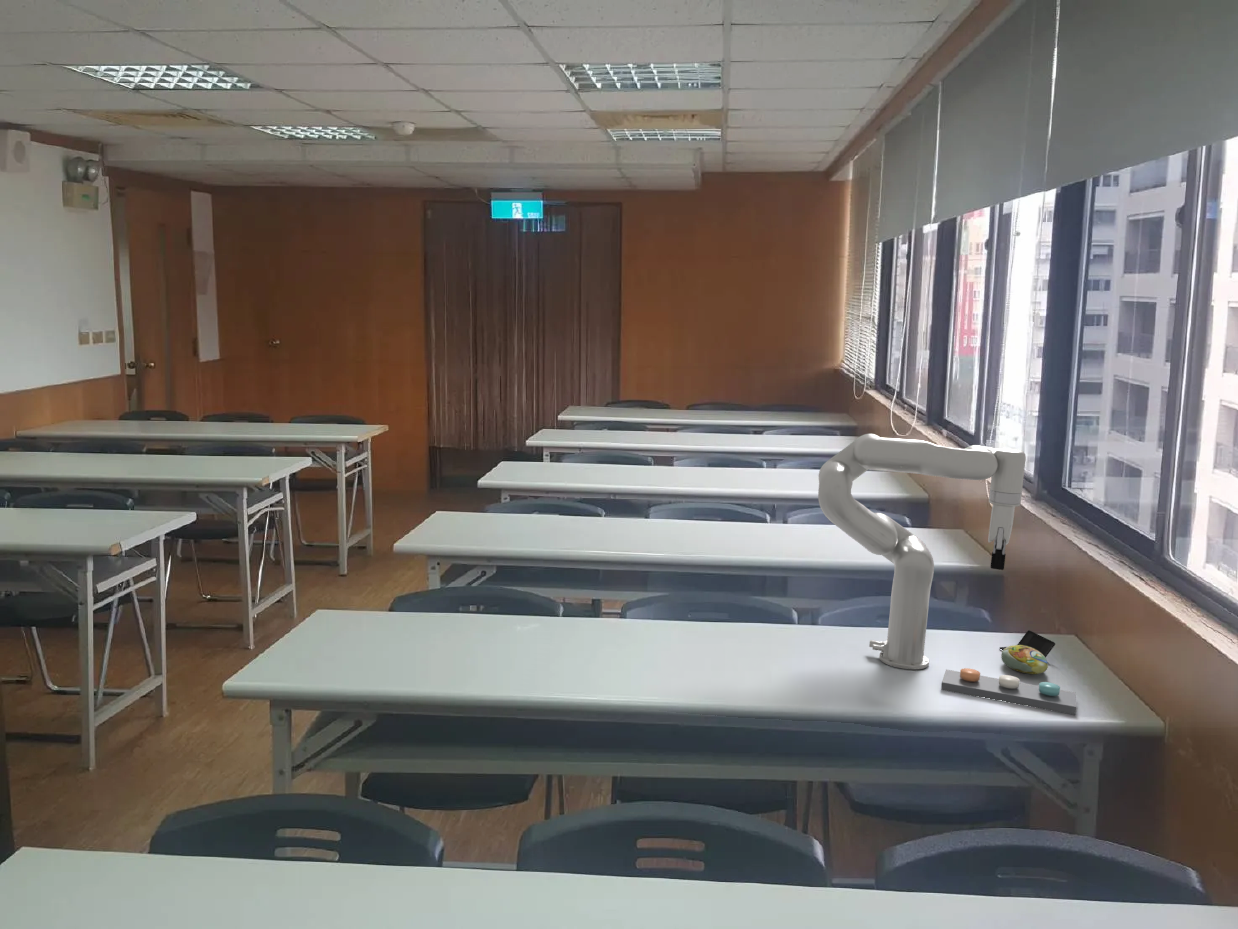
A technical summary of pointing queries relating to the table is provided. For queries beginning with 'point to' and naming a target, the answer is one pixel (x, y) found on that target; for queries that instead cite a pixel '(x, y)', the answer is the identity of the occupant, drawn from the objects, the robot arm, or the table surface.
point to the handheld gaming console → (1036, 643)
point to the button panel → (1010, 693)
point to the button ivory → (1009, 681)
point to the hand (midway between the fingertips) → (997, 568)
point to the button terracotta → (970, 674)
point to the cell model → (1024, 659)
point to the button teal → (1049, 688)
